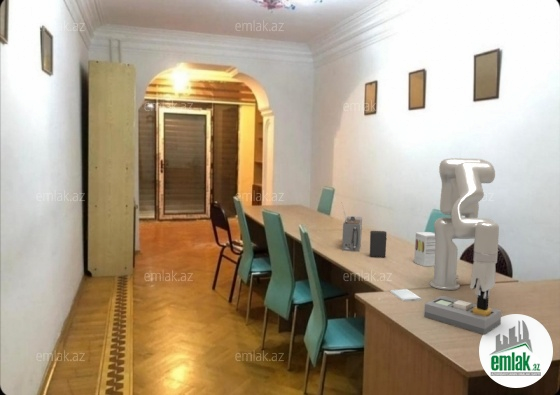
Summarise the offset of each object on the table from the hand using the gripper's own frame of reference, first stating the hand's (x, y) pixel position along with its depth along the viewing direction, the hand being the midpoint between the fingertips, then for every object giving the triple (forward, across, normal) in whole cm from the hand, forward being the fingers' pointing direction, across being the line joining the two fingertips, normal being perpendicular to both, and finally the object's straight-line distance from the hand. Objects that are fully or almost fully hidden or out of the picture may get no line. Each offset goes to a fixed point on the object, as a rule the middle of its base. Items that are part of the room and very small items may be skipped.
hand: (482, 308), depth 159 cm
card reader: (+6, -60, -84) cm, 104 cm away
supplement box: (+6, -66, -57) cm, 88 cm away
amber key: (+3, 0, 0) cm, 3 cm away
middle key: (+2, 0, -7) cm, 7 cm away
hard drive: (+7, -9, -36) cm, 37 cm away
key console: (+6, 0, -7) cm, 10 cm away
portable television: (+6, -69, -110) cm, 130 cm away
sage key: (+4, 0, -14) cm, 15 cm away
